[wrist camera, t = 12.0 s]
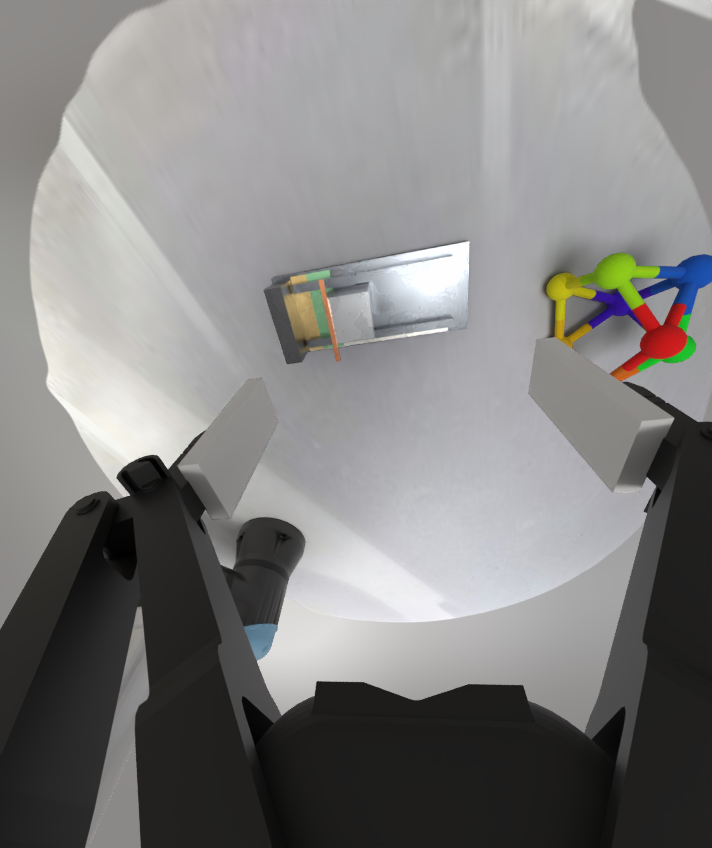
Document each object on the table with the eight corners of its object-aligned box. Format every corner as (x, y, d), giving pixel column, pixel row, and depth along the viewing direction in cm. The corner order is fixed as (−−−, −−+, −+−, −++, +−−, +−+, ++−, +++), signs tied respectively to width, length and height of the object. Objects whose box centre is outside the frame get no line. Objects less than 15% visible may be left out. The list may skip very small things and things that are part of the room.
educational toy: (645, 324, 41) (758, 383, 29) (541, 364, 45) (604, 431, 33) (651, 196, 32) (815, 207, 20) (523, 261, 36) (598, 301, 25)
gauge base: (295, 351, 45) (284, 368, 40) (273, 277, 39) (257, 286, 34) (464, 325, 41) (477, 341, 36) (466, 240, 36) (481, 244, 31)
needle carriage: (340, 345, 42) (336, 361, 37) (326, 272, 37) (318, 280, 32) (377, 340, 41) (376, 355, 37) (366, 265, 36) (364, 271, 32)
